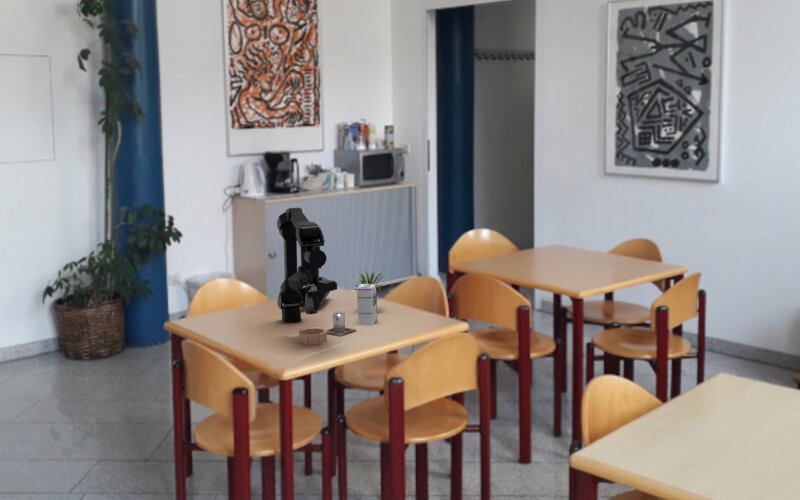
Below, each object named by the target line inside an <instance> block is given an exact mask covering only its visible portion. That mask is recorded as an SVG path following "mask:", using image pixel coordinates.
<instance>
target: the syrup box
mask: <svg viewBox="0 0 800 500" xmlns="http://www.w3.org/2000/svg"><path fill="white" fill-rule="evenodd" d="M376 285H377V284H376V283H374V284H373V283H372V284H368V283H367V284H362V283H361V284H360V285H357V286H358V287H356V289H357V290H356V302H357V303H356V305H357V322H358V325H370V326H371V325H372V326H373V325H375V324H376V323H377V322H378V299H377V300H376V295H377V291H376V288H377V286H376Z"/></svg>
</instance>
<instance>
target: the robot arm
mask: <svg viewBox="0 0 800 500" xmlns="http://www.w3.org/2000/svg"><path fill="white" fill-rule="evenodd" d="M276 223H277V224H276V226H277V230H278V233H279V235H280V237H282V239H283V257H284V259H283V261H284V264H283V265H284V267H283V268H284V279H283V281H282V283H281V285H280V287H279V288H280V290H279V291H280V292H279V293H278V298H277V303H276V304H277V308H278V309H280V310H281V321H282V322H283V323H284V324H285V323H286V324H291V323H292V324H296V323H300V322H301V323H302V311H301V308H302V307H304V306H305V292H306V291H309V290H311V287H315V290H314V291H311V293H312V294H313V296H314V307H315V311H317V310H318V311H319V309H320V306H321V305H322V303H323V302H322V300H323V297H324V296H325V294H326V292H329V291H330V292H333V291H336V290H338V283H337V282H336V281H335V280H330V279H327V280H325V281H322V277H323V276H320V269H322V267H323V266H325V264H326V263H327V255H326V253H325V252H324V251H323V250H321V247H324V246H325V242H326V241H325V237H324V233H323V230H321V227H320V226H319V224H317V222H315V221H310V220H309V219H308V218H307V216H306V215H305V213H304V212H303V209H302V207H290V208H289V207H288V208H286V211H284V212H283V213H281V214H280V215H279V216H278V217H277V220H276ZM297 243H298V244H297ZM298 246H299V247H300V251H299V252H300V265H298ZM319 281H321V282H319ZM330 292H329V293H330ZM321 302H322V303H321Z"/></svg>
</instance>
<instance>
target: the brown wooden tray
mask: <svg viewBox="0 0 800 500" xmlns="http://www.w3.org/2000/svg"><path fill="white" fill-rule="evenodd" d="M326 331H327V335H330V336H335V337H340V338H341V337H344V336H347V335H350V334H353V333H357V329H355V328H351V327H349V328H348V327H345V332H343V333H335V332H334V330H333V327H332V328H329V329H326Z"/></svg>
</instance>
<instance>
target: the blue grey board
mask: <svg viewBox="0 0 800 500" xmlns="http://www.w3.org/2000/svg"><path fill="white" fill-rule="evenodd" d="M309 328H322V329H324V328H323V326H319V325H318V326H311V327H309ZM286 336H287V337H290V338H296V337H299V332H294V333H293V332H292V333H287V334H286Z"/></svg>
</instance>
